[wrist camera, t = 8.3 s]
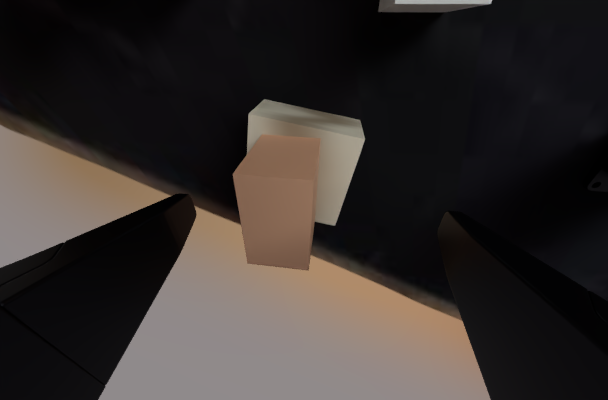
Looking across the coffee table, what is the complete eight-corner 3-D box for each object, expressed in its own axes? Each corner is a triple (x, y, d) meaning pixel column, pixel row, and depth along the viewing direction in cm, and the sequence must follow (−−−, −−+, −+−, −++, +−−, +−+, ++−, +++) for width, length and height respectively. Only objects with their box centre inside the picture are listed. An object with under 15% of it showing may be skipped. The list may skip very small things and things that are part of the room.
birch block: (359, 118, 17) (365, 139, 14) (335, 196, 21) (335, 225, 18) (265, 98, 17) (248, 113, 14) (258, 179, 21) (244, 206, 18)
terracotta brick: (320, 138, 14) (313, 180, 10) (315, 215, 18) (308, 270, 14) (262, 134, 15) (232, 173, 11) (267, 211, 18) (247, 263, 14)
